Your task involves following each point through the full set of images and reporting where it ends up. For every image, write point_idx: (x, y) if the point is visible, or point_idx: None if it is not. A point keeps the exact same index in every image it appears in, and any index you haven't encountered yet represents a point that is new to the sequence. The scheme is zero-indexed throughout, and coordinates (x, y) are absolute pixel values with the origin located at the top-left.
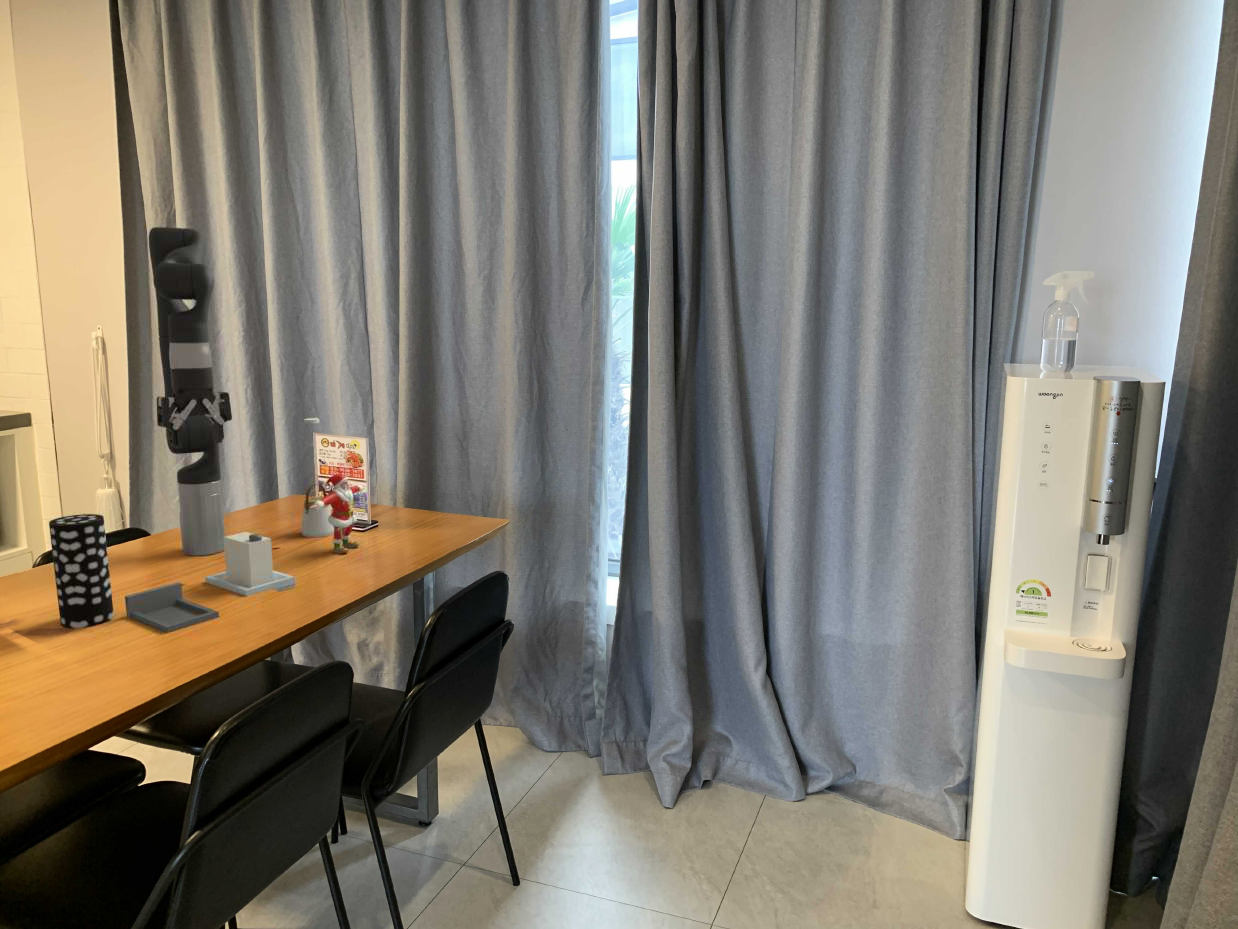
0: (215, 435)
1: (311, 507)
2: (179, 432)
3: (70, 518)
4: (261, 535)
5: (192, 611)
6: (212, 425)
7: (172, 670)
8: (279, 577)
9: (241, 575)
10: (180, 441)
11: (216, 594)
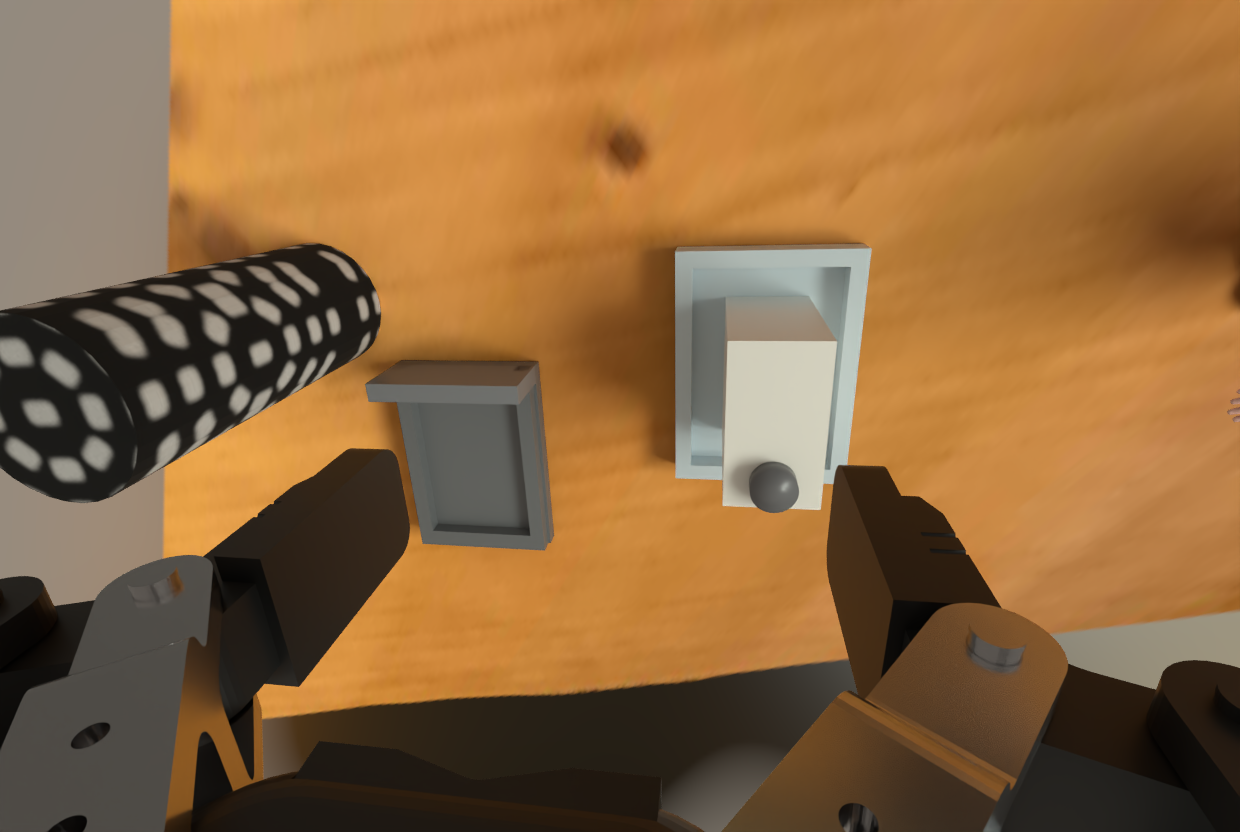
0: (847, 560)
1: (1236, 411)
2: (307, 659)
3: (18, 372)
4: (791, 506)
5: (522, 462)
6: (888, 603)
7: (386, 659)
8: (833, 424)
9: (723, 396)
10: (371, 583)
11: (656, 346)
